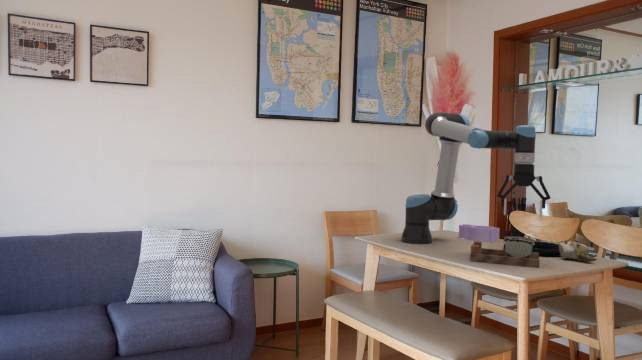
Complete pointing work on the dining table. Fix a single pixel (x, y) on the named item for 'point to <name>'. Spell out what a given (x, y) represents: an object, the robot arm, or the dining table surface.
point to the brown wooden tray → (500, 256)
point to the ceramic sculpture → (575, 251)
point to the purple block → (479, 233)
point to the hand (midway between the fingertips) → (522, 215)
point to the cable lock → (545, 249)
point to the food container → (518, 247)
